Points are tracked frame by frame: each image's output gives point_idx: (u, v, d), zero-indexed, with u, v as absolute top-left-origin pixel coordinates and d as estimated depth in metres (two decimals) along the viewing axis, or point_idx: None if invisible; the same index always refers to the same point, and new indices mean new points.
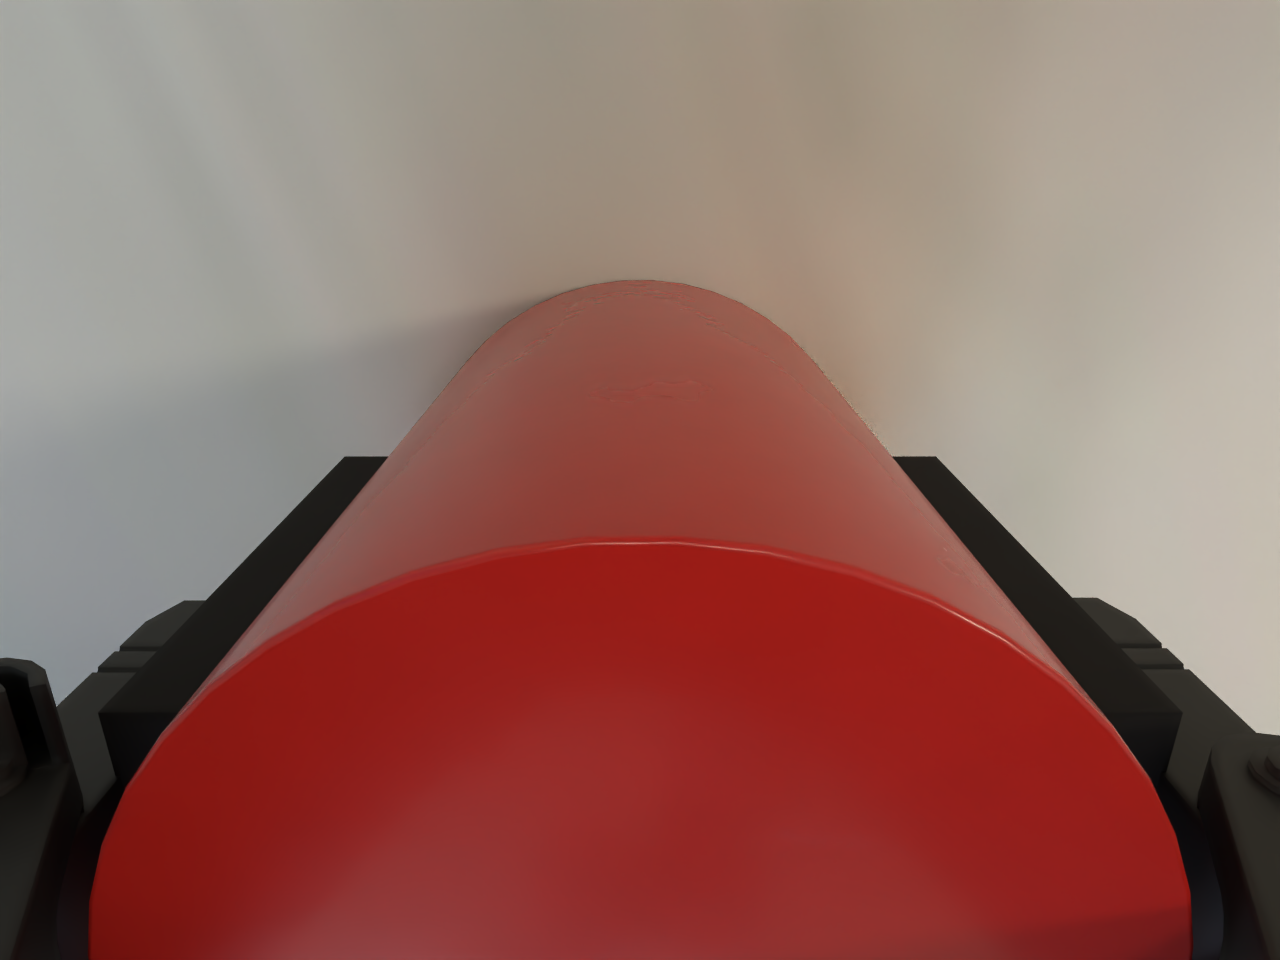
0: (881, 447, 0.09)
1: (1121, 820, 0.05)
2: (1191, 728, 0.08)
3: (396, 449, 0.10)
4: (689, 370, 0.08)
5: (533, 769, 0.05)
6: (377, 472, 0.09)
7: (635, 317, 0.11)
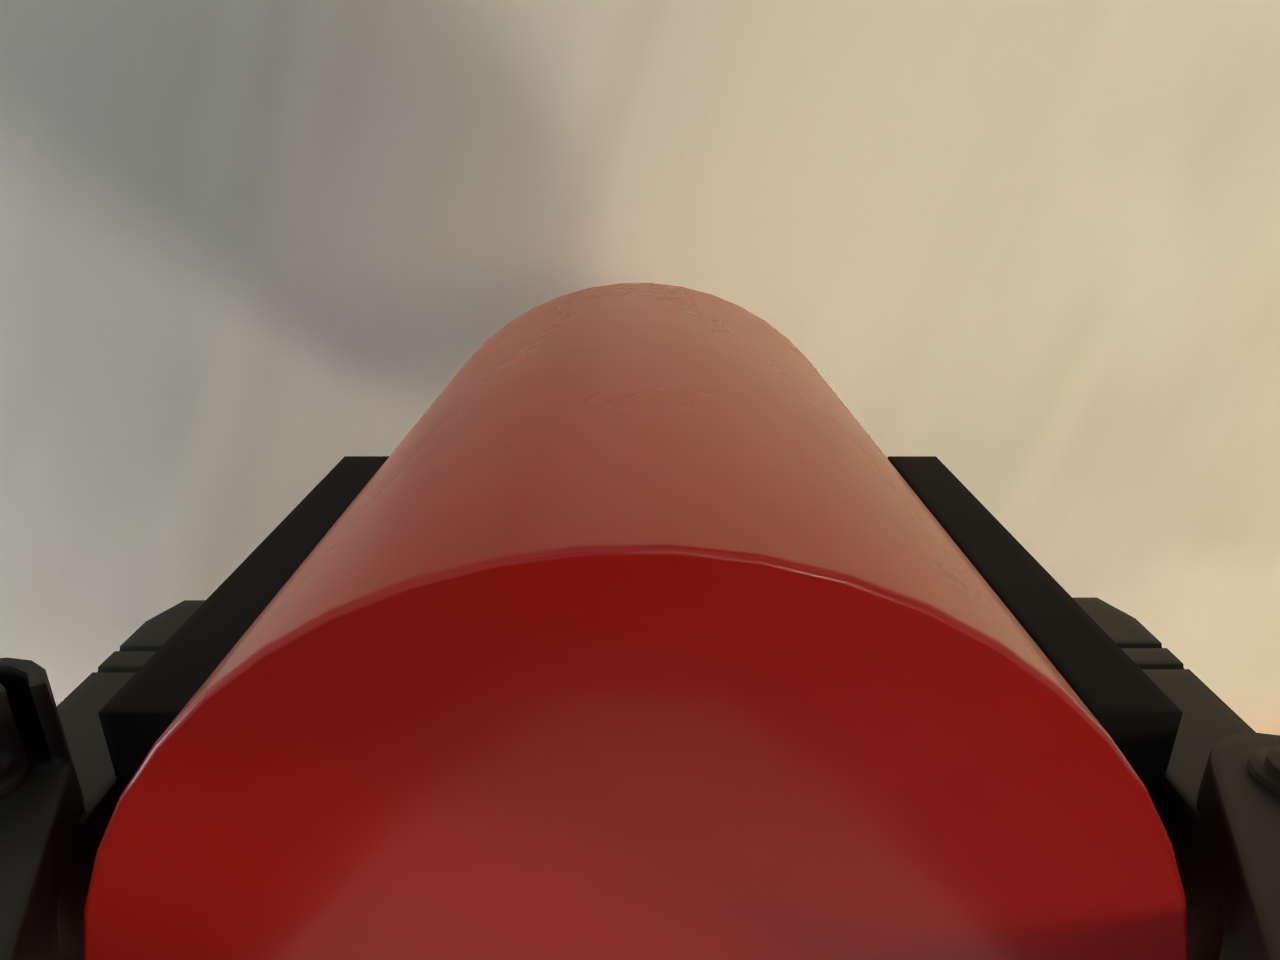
0: (879, 452, 0.09)
1: (1117, 828, 0.05)
2: (1190, 727, 0.08)
3: (393, 453, 0.10)
4: (686, 375, 0.08)
5: (529, 777, 0.05)
6: (374, 476, 0.09)
7: (633, 321, 0.11)
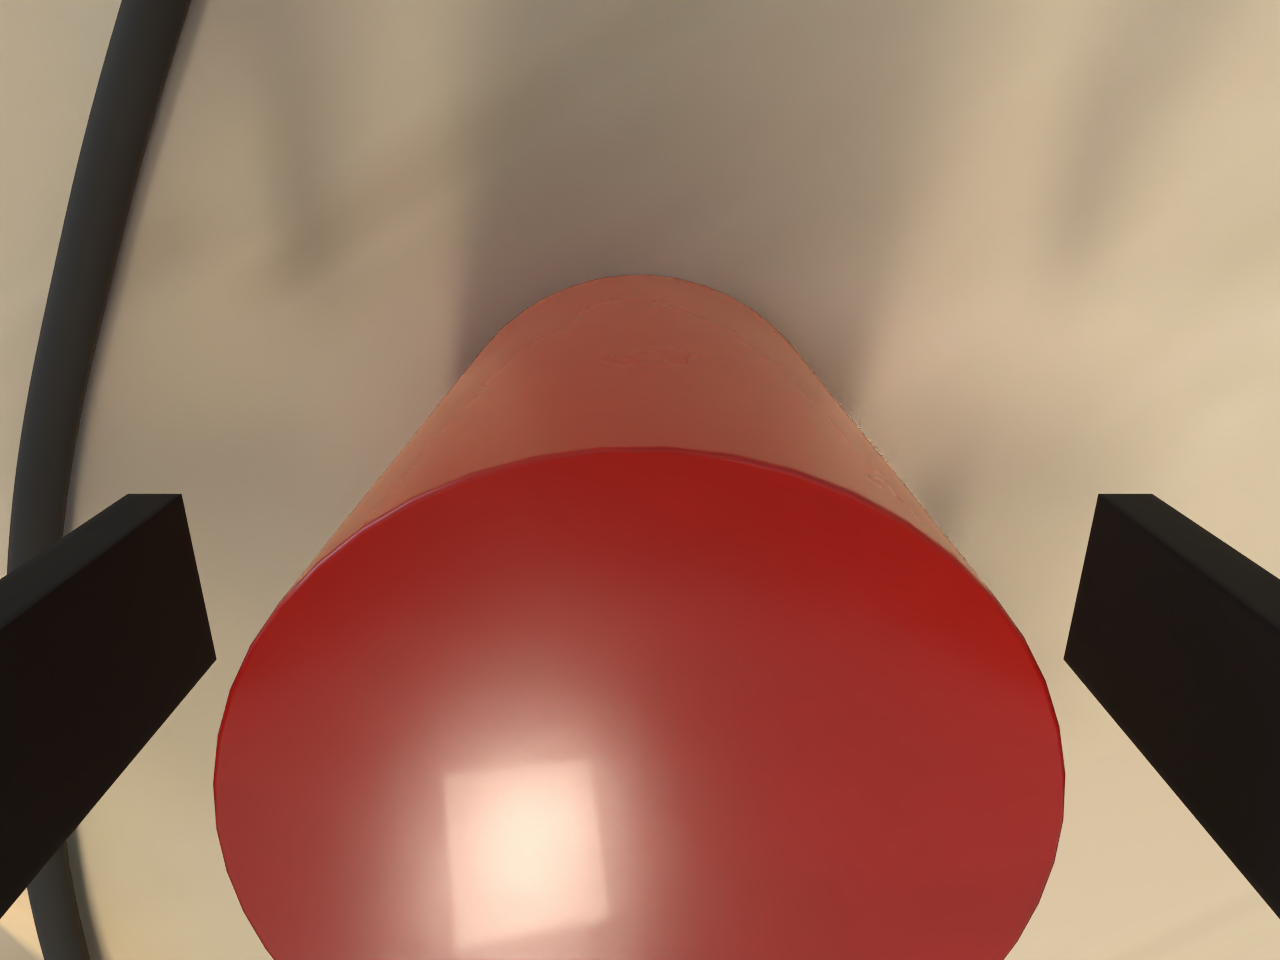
0: (842, 411, 0.11)
1: (1003, 669, 0.07)
2: None
3: (433, 413, 0.11)
4: (680, 343, 0.10)
5: (561, 629, 0.07)
6: (419, 430, 0.11)
7: (634, 304, 0.13)
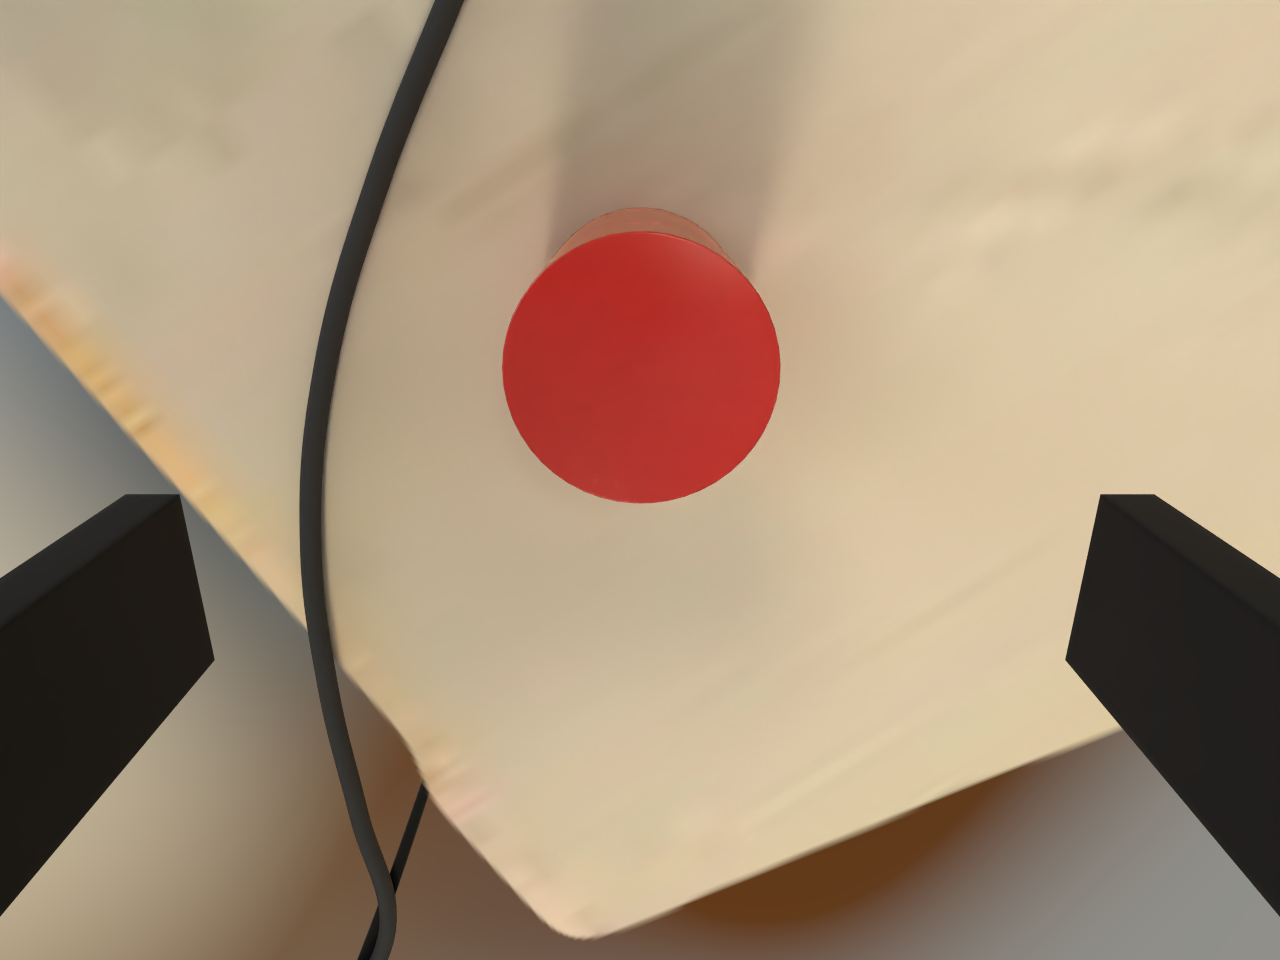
0: None
1: (753, 306, 0.23)
2: None
3: None
4: (657, 221, 0.26)
5: (617, 292, 0.23)
6: None
7: (639, 214, 0.29)
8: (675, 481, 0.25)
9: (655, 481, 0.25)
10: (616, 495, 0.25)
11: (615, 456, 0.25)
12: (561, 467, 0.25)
